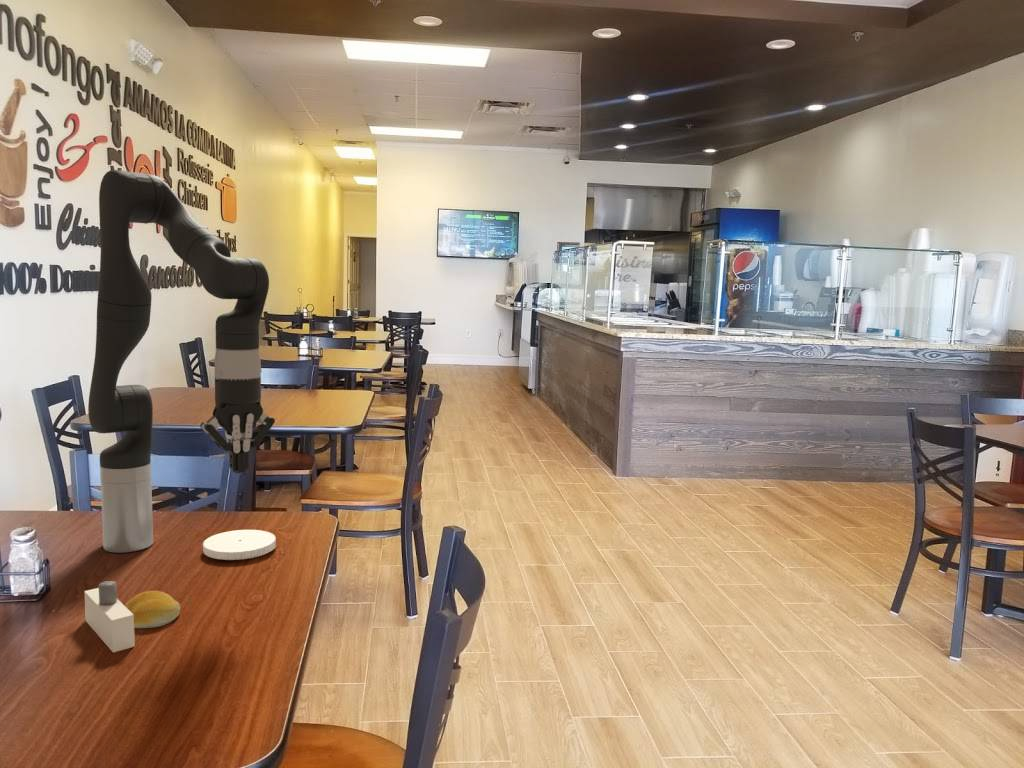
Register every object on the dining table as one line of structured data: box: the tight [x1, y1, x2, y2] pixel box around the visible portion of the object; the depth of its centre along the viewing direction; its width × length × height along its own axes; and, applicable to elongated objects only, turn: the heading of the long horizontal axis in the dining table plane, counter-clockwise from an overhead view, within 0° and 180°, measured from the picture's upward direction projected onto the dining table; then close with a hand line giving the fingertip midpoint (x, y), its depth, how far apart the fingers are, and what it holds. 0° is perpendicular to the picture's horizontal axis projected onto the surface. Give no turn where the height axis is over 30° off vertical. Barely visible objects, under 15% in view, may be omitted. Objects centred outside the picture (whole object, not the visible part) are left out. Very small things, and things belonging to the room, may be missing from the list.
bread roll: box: [124, 590, 181, 629], centre depth 124 cm, size 8×9×4 cm
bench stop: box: [83, 580, 136, 653], centre depth 118 cm, size 14×3×8 cm, turn 44°
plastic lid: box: [202, 529, 277, 561], centre depth 156 cm, size 14×14×2 cm
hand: (239, 472), depth 133 cm, fingers closed
